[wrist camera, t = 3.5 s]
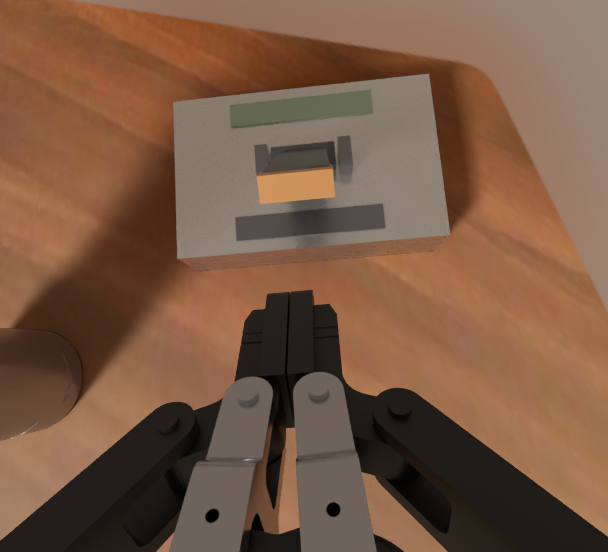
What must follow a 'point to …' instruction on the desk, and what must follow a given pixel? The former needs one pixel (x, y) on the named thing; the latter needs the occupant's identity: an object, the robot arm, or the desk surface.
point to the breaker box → (347, 176)
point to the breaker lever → (298, 173)
